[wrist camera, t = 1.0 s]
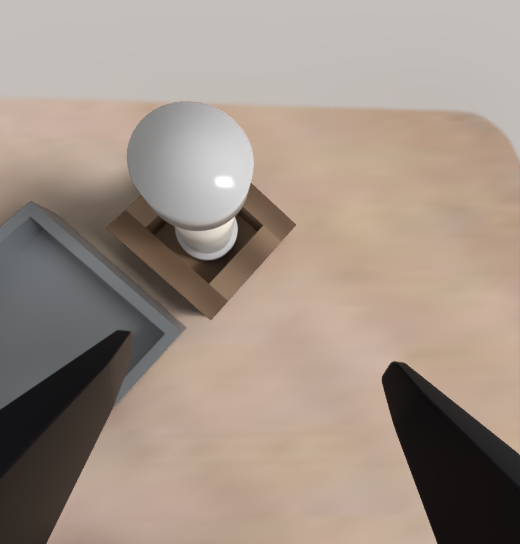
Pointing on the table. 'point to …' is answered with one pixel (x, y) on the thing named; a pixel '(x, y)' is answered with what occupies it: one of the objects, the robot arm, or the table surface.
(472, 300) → the table surface
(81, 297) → the parts tray
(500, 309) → the table surface
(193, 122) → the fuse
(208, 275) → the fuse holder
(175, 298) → the table surface
